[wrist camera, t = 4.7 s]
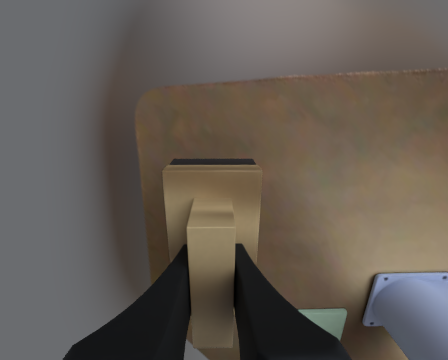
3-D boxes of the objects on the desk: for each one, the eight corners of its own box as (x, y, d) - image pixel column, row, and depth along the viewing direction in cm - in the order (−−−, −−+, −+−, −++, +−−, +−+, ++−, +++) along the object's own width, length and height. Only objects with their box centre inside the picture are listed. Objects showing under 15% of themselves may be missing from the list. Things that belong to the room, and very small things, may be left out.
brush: (172, 158, 13) (141, 193, 8) (254, 158, 14) (278, 192, 8) (181, 284, 17) (163, 369, 11) (247, 283, 17) (262, 366, 11)
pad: (344, 308, 27) (347, 312, 26) (328, 375, 31) (330, 380, 30) (273, 310, 26) (274, 314, 26) (266, 378, 31) (267, 383, 30)
